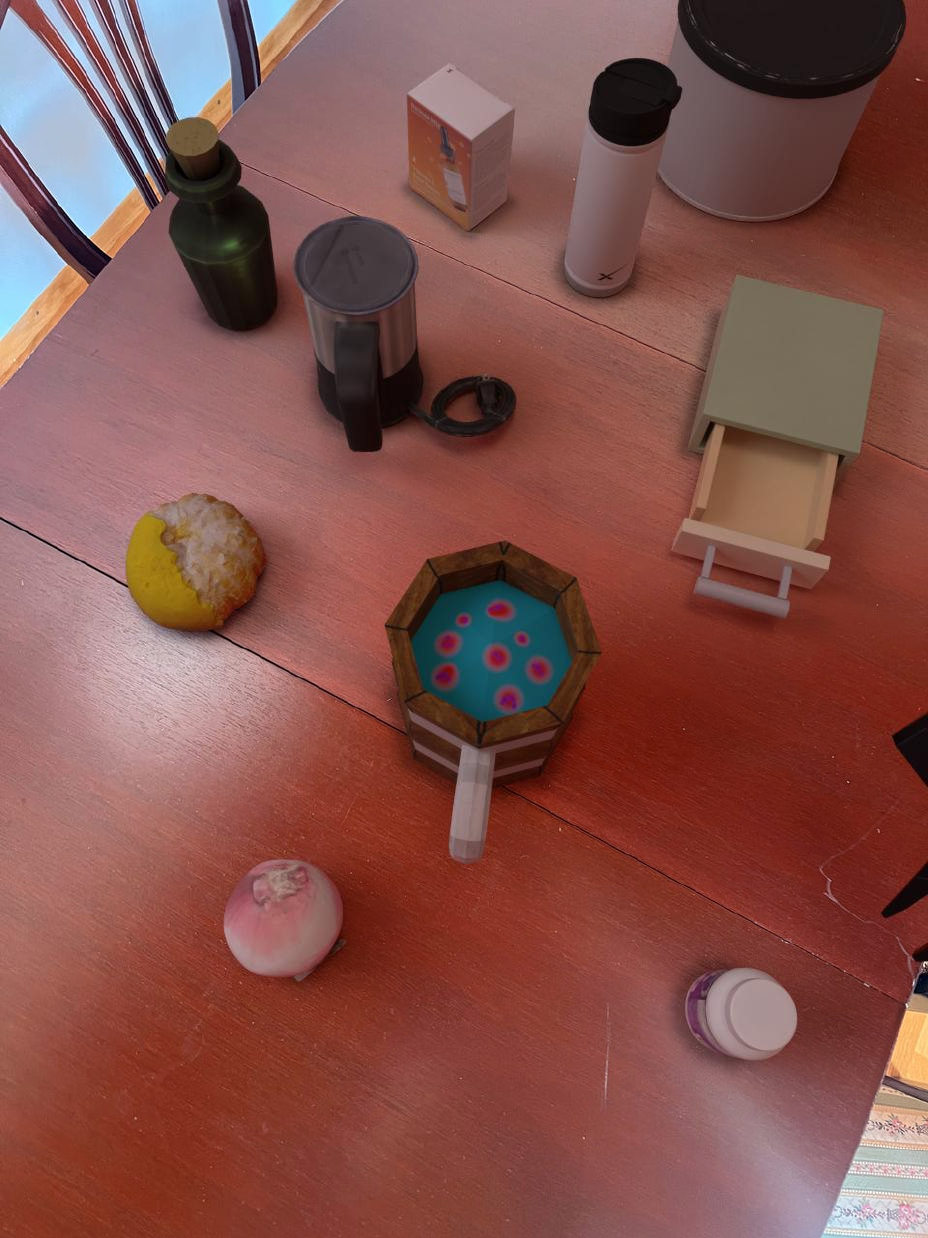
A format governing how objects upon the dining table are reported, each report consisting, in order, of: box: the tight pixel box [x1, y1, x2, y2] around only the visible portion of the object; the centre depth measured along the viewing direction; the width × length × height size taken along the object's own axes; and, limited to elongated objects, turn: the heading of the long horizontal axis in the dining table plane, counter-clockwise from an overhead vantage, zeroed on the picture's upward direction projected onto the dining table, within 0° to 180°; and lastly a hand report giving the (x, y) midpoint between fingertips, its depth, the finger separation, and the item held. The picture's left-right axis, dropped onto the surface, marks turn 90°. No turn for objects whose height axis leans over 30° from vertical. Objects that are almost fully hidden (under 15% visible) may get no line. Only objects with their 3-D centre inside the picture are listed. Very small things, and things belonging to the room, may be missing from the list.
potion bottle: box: [164, 116, 279, 331], centre depth 78 cm, size 8×8×18 cm
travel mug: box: [563, 57, 682, 298], centre depth 79 cm, size 6×7×20 cm
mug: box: [383, 540, 603, 865], centre depth 65 cm, size 20×14×15 cm
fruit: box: [125, 492, 268, 633], centre depth 74 cm, size 11×10×8 cm
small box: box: [406, 62, 516, 232], centre depth 86 cm, size 8×6×10 cm
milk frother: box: [292, 215, 517, 453], centre depth 76 cm, size 14×16×15 cm
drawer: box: [671, 421, 839, 620], centre depth 76 cm, size 18×11×4 cm, turn 163°
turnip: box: [223, 859, 347, 983], centre depth 63 cm, size 8×8×7 cm
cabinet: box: [686, 274, 885, 489], centre depth 81 cm, size 15×13×6 cm
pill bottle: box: [684, 967, 798, 1062], centre depth 61 cm, size 5×5×10 cm
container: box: [657, 0, 907, 223], centre depth 87 cm, size 19×19×15 cm
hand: (899, 935), depth 54 cm, fingers closed
